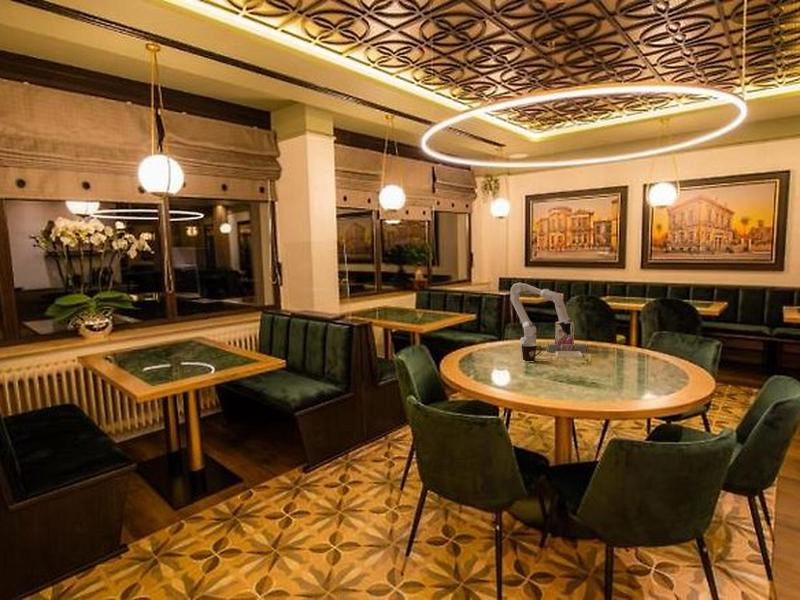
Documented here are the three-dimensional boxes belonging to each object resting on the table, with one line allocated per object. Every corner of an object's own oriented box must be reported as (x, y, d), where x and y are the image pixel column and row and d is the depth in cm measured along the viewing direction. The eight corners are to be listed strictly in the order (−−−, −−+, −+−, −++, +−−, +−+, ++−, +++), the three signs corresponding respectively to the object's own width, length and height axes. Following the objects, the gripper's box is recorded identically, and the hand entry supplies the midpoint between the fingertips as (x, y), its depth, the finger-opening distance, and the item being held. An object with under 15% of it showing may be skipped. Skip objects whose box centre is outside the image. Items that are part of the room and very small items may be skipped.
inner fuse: (557, 351, 289) (557, 344, 289) (558, 352, 286) (558, 345, 285) (547, 351, 291) (547, 343, 290) (548, 352, 287) (548, 345, 286)
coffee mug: (521, 363, 267) (521, 346, 266) (521, 359, 276) (521, 342, 275) (542, 363, 265) (542, 346, 264) (541, 360, 273) (541, 343, 272)
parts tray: (579, 355, 281) (579, 351, 280) (582, 359, 271) (582, 355, 271) (555, 355, 284) (555, 351, 283) (557, 359, 274) (557, 354, 274)
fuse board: (587, 352, 287) (587, 346, 286) (589, 355, 281) (589, 348, 280) (545, 352, 292) (545, 346, 292) (545, 354, 286) (545, 348, 286)
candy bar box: (554, 347, 305) (554, 322, 303) (556, 345, 309) (556, 321, 307) (572, 348, 299) (572, 323, 297) (574, 347, 303) (574, 322, 301)
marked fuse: (571, 351, 288) (571, 344, 287) (572, 352, 284) (572, 345, 283) (561, 351, 289) (561, 343, 288) (561, 352, 285) (562, 345, 284)
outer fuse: (585, 351, 286) (585, 344, 285) (586, 353, 282) (586, 345, 281) (574, 351, 287) (574, 344, 287) (575, 352, 283) (575, 345, 283)
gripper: (570, 311, 280) (576, 333, 279) (566, 310, 294) (572, 331, 294) (558, 314, 281) (564, 336, 281) (555, 313, 295) (560, 333, 295)
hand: (567, 333), depth 287 cm, fingers open, 7 cm apart
